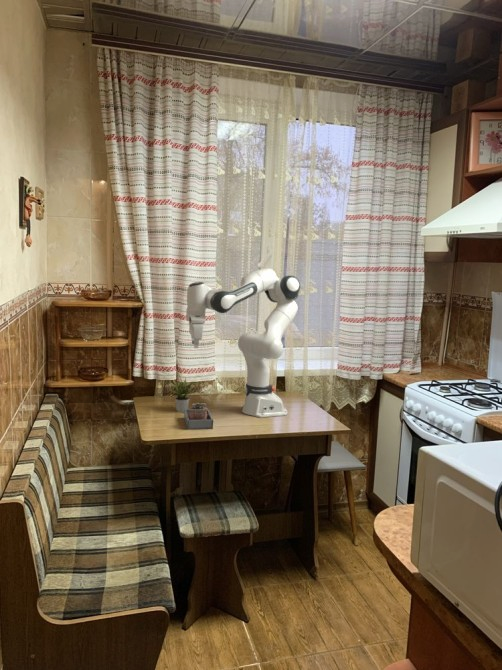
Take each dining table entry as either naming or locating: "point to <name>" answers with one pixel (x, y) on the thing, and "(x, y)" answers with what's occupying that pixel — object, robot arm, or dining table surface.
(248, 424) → the dining table surface
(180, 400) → the house plant
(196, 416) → the red grey packet
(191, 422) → the cell holder
